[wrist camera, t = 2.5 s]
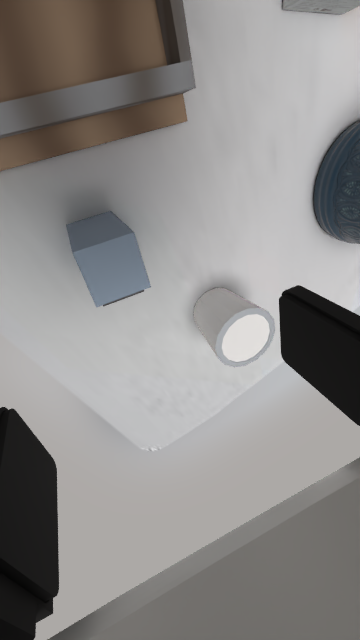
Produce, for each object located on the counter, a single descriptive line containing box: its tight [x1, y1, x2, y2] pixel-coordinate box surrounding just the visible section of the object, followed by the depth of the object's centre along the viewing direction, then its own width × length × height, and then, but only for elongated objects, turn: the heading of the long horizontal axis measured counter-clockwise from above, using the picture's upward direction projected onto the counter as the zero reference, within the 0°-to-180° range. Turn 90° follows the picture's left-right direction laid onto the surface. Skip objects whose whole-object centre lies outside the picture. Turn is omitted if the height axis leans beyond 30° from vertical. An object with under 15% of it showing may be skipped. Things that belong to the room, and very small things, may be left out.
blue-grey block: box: [66, 211, 151, 307], centre depth 24 cm, size 5×4×9 cm
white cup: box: [193, 288, 275, 367], centre depth 33 cm, size 7×7×7 cm
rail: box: [0, 0, 196, 171], centre depth 16 cm, size 20×12×10 cm, turn 103°
